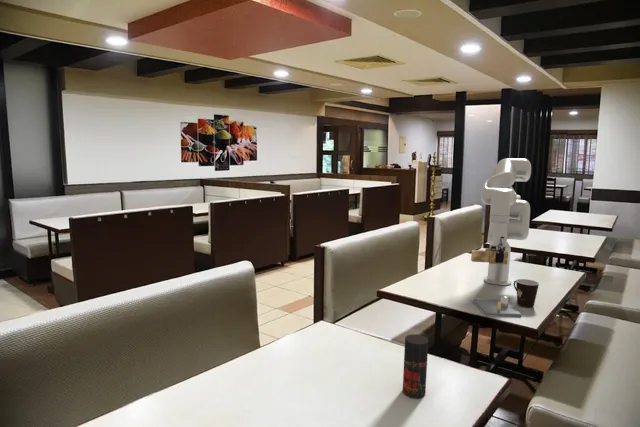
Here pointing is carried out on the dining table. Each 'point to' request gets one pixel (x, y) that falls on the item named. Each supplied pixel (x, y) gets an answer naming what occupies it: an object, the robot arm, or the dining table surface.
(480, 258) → the tan wooden block
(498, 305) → the stop pin
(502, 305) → the post
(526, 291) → the coffee mug
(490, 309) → the board
